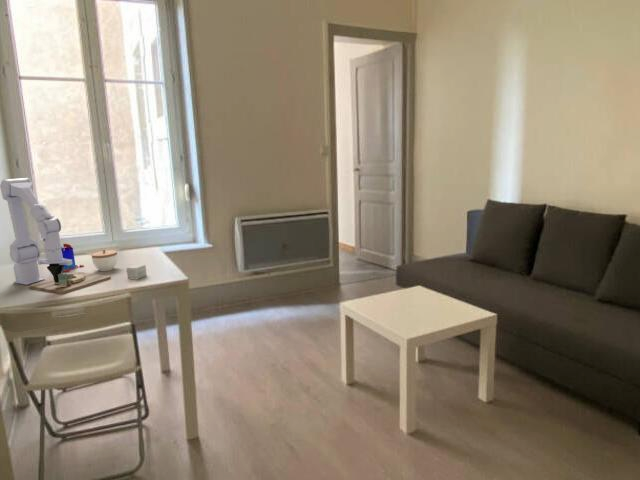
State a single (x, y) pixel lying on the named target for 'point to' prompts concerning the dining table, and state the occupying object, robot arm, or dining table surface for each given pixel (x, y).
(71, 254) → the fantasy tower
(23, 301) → the dining table surface
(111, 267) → the lidded jar
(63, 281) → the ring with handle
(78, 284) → the post board
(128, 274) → the small box
